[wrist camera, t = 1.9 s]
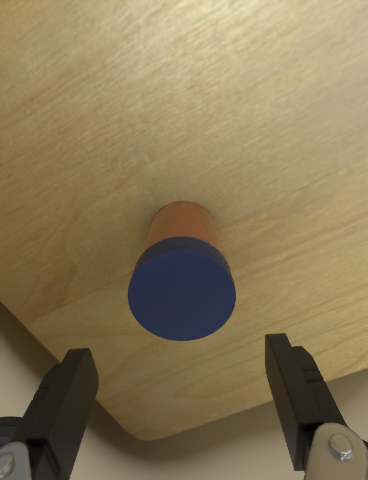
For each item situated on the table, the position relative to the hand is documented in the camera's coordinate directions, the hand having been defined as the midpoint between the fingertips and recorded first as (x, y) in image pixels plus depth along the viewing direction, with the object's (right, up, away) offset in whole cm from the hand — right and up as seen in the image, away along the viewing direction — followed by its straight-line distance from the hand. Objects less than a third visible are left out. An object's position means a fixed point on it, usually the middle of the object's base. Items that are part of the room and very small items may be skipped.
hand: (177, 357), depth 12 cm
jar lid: (0, +2, +4) cm, 5 cm away
